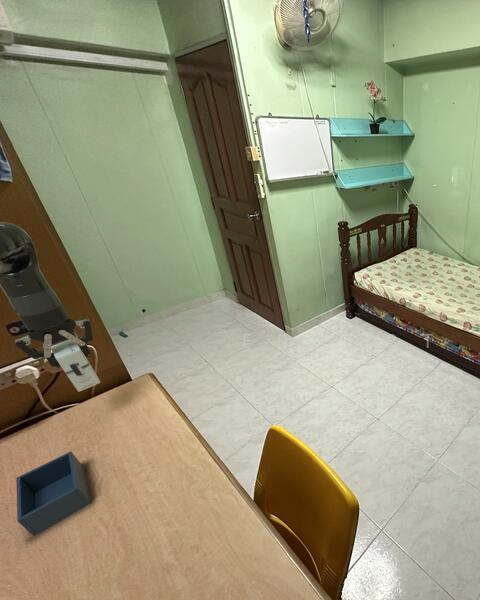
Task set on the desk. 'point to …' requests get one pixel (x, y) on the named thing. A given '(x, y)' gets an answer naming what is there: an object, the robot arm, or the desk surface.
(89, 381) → the ink box
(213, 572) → the desk surface
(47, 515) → the bin
